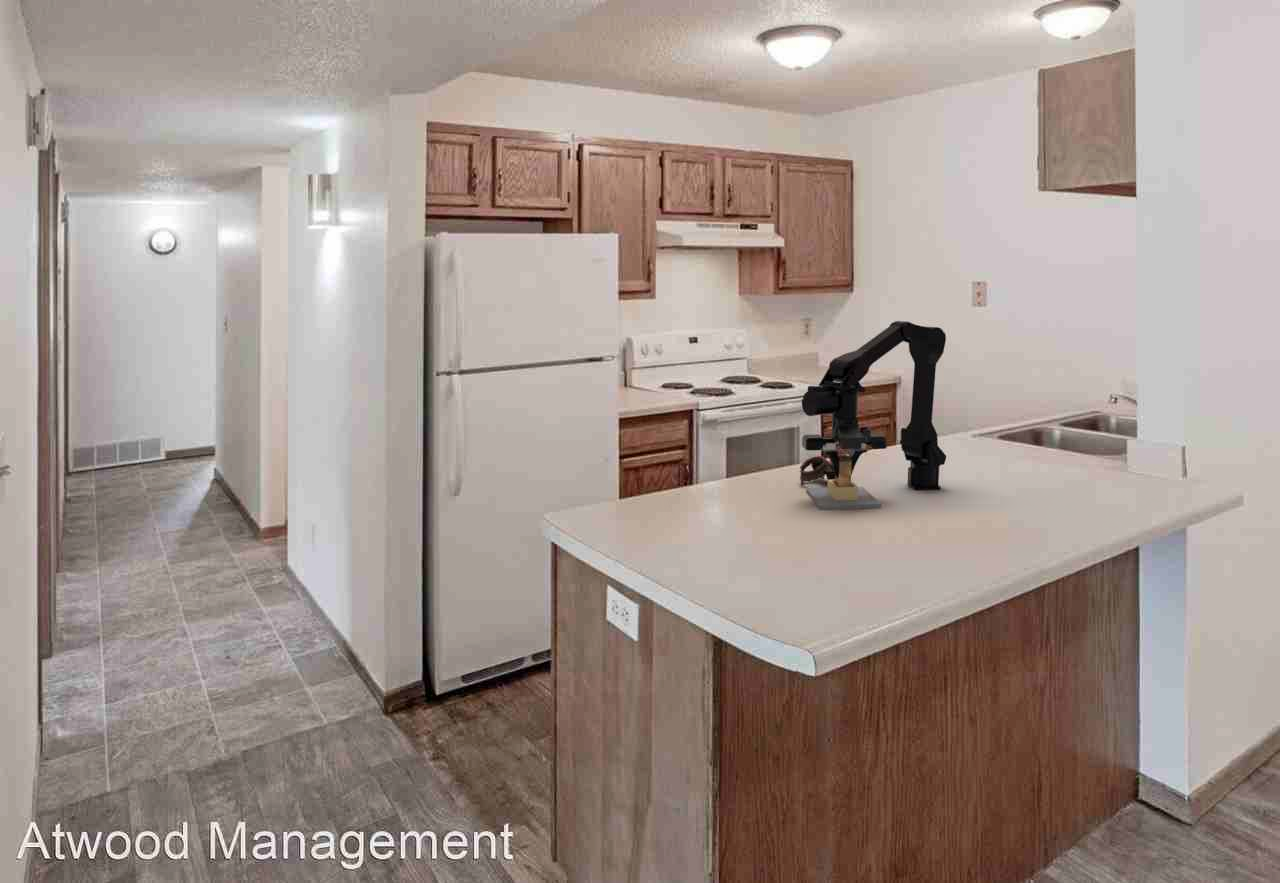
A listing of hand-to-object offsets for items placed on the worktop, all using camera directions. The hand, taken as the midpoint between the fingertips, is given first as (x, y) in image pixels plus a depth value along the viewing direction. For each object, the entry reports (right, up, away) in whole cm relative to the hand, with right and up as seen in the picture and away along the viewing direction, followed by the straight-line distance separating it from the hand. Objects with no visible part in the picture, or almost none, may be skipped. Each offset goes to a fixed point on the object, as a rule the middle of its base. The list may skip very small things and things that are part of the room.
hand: (843, 477), depth 204 cm
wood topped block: (0, -2, 0) cm, 2 cm away
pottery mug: (-2, -3, +18) cm, 18 cm away
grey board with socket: (0, -5, +1) cm, 5 cm away
